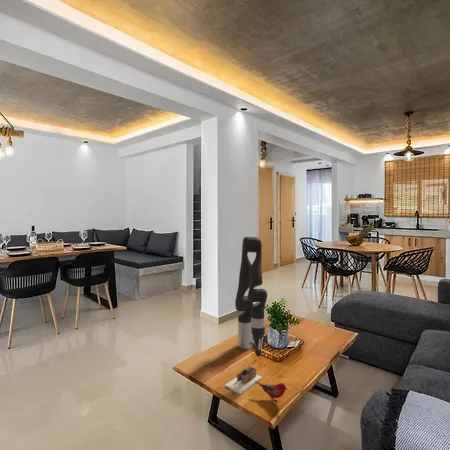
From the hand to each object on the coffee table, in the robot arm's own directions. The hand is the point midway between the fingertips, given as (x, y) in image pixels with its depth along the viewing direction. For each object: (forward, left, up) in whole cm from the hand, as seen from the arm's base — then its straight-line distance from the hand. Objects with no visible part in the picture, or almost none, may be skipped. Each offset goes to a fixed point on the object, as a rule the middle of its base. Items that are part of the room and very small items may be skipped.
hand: (258, 355), depth 169 cm
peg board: (+12, 0, -10) cm, 16 cm away
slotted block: (+10, 0, -9) cm, 13 cm away
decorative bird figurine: (+14, +18, -10) cm, 25 cm away
